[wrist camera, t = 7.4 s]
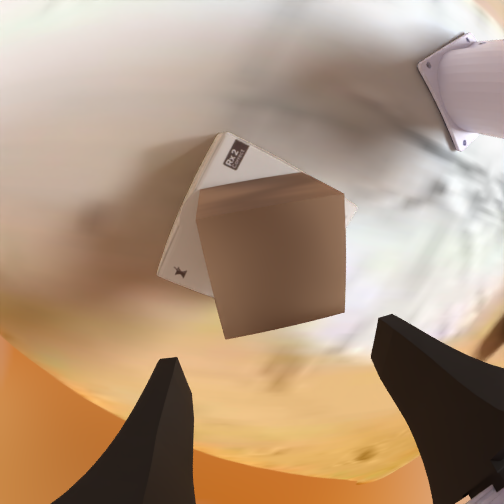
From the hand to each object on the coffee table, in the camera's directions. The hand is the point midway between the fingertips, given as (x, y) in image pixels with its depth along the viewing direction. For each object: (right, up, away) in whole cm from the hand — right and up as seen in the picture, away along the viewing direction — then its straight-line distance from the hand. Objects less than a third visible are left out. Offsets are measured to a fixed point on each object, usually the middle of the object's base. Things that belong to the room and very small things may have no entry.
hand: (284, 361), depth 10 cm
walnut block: (-1, +5, +4) cm, 6 cm away
